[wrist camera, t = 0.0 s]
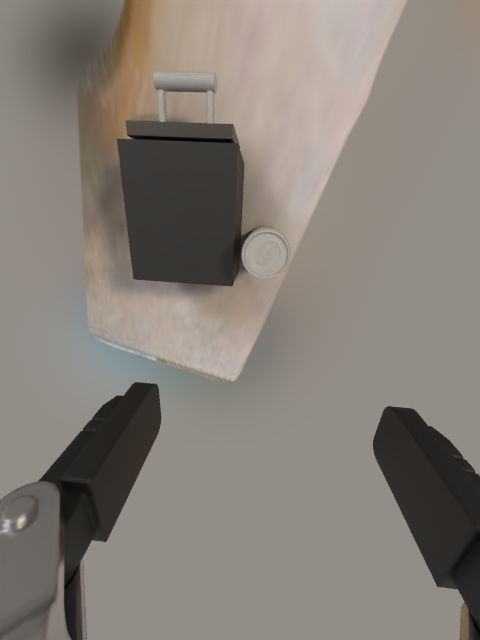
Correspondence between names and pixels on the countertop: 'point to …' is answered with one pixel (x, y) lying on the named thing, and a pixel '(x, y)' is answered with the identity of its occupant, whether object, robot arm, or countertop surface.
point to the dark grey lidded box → (183, 209)
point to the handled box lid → (180, 129)
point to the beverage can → (265, 253)
